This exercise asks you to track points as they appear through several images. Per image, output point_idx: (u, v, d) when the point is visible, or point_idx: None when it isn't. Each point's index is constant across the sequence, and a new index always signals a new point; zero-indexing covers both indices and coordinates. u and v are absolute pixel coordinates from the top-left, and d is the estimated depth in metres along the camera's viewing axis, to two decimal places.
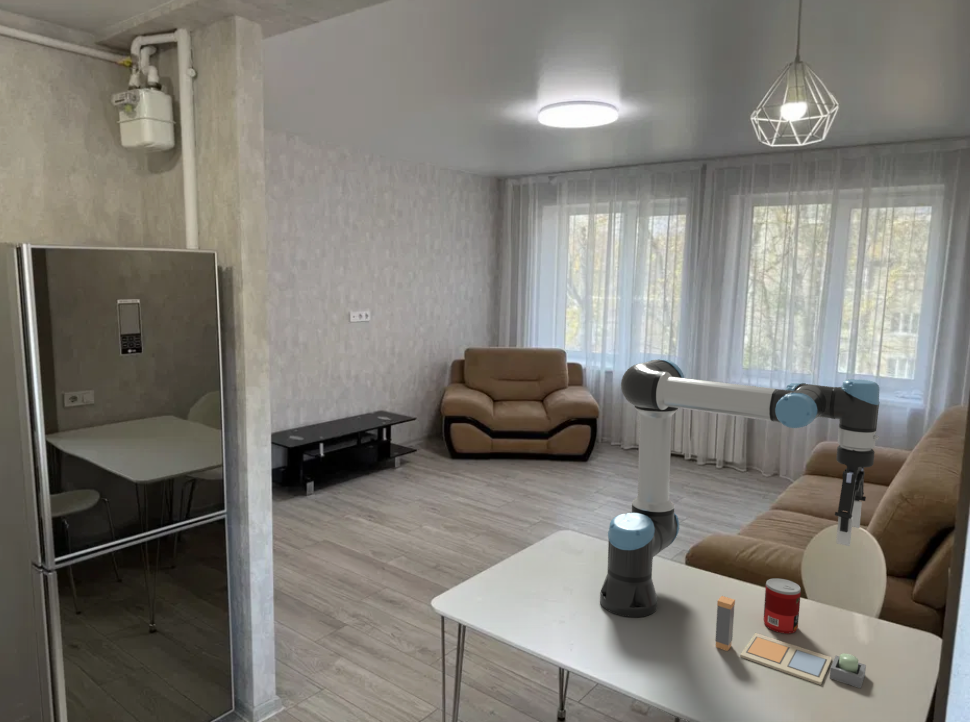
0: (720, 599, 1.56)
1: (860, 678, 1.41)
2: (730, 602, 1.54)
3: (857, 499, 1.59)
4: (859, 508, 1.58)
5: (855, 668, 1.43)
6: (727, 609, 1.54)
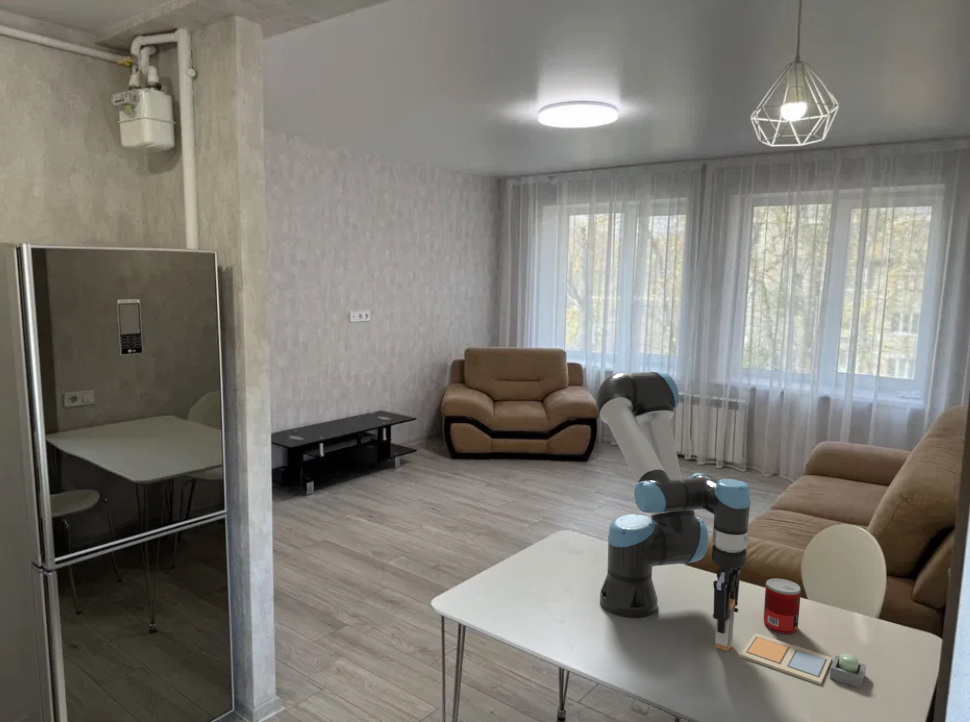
0: None
1: (860, 678, 1.41)
2: (730, 602, 1.54)
3: None
4: None
5: (855, 668, 1.43)
6: None
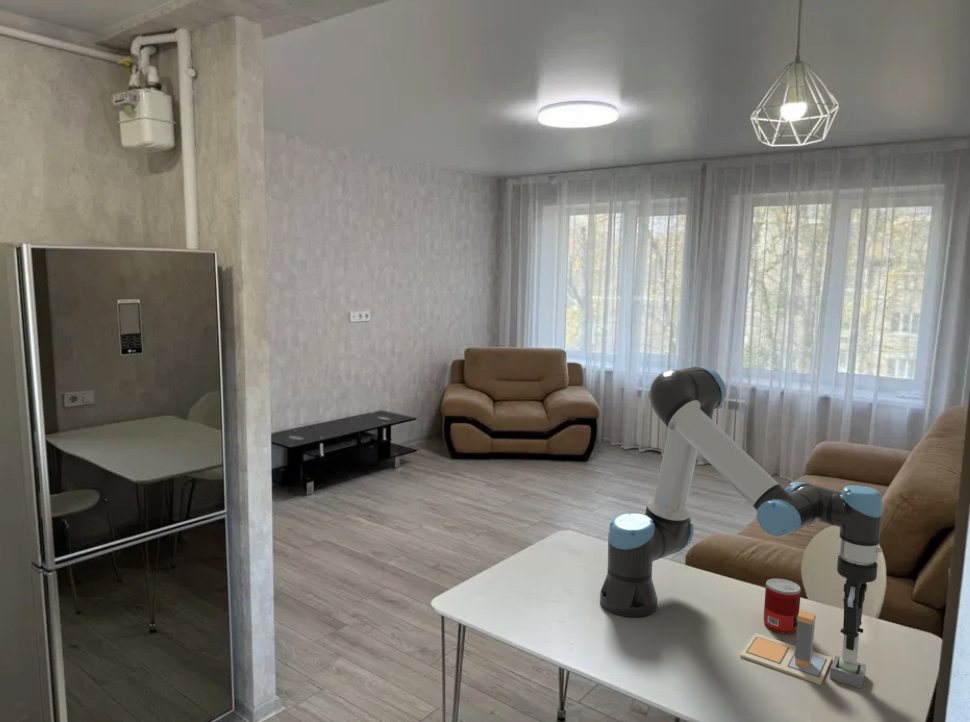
0: (800, 614, 1.48)
1: (860, 678, 1.41)
2: (811, 617, 1.46)
3: None
4: None
5: (855, 671, 1.44)
6: (809, 624, 1.46)
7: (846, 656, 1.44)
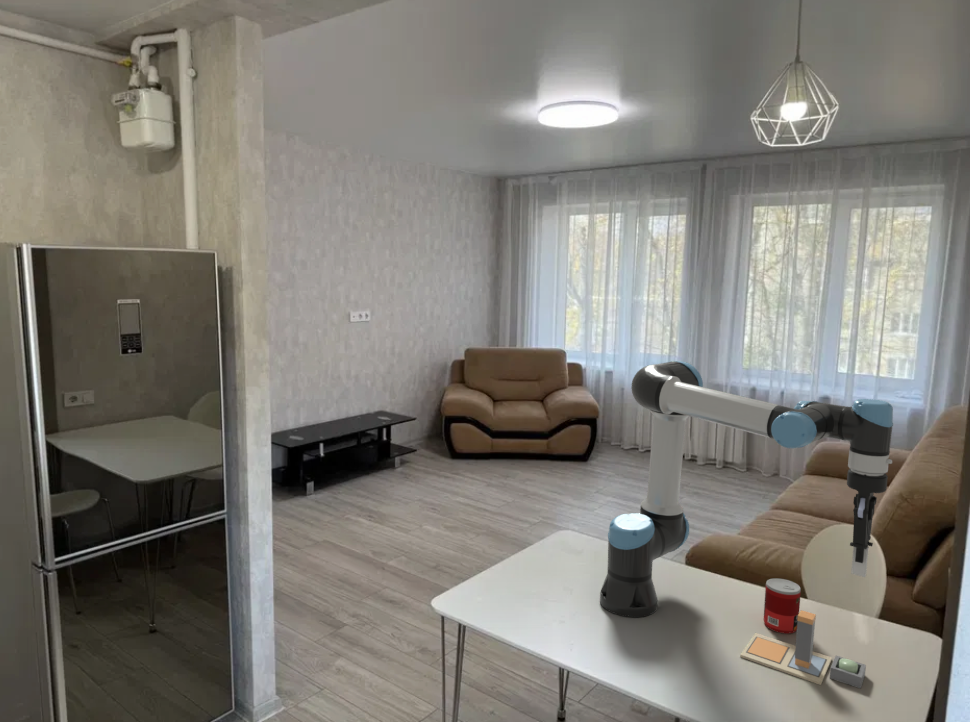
0: (800, 614, 1.48)
1: (860, 678, 1.41)
2: (811, 617, 1.46)
3: None
4: None
5: (855, 673, 1.44)
6: (809, 624, 1.46)
7: (855, 570, 1.45)
